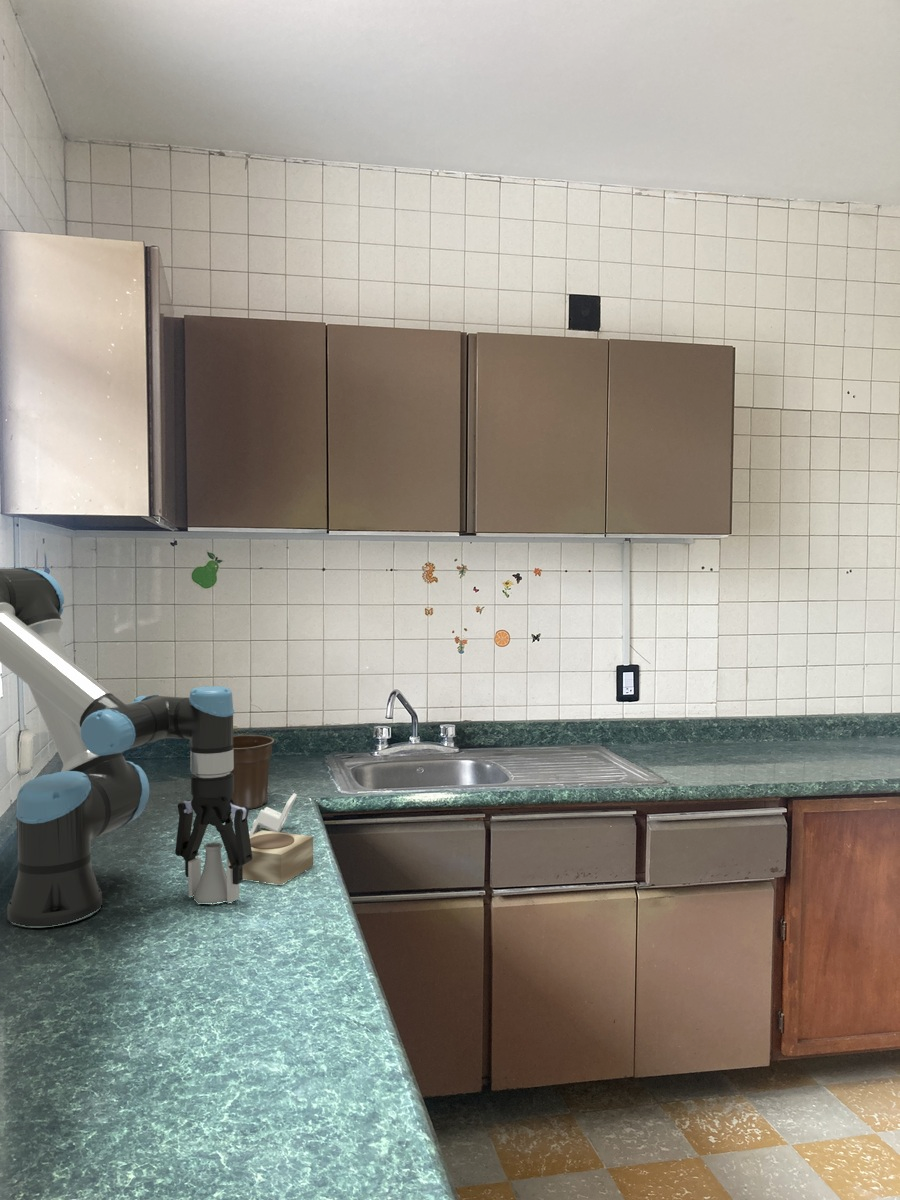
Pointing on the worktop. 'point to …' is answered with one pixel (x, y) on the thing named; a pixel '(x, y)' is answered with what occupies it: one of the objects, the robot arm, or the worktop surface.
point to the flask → (212, 877)
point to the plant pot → (251, 769)
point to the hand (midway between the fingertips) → (214, 897)
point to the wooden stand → (278, 856)
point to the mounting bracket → (272, 818)
